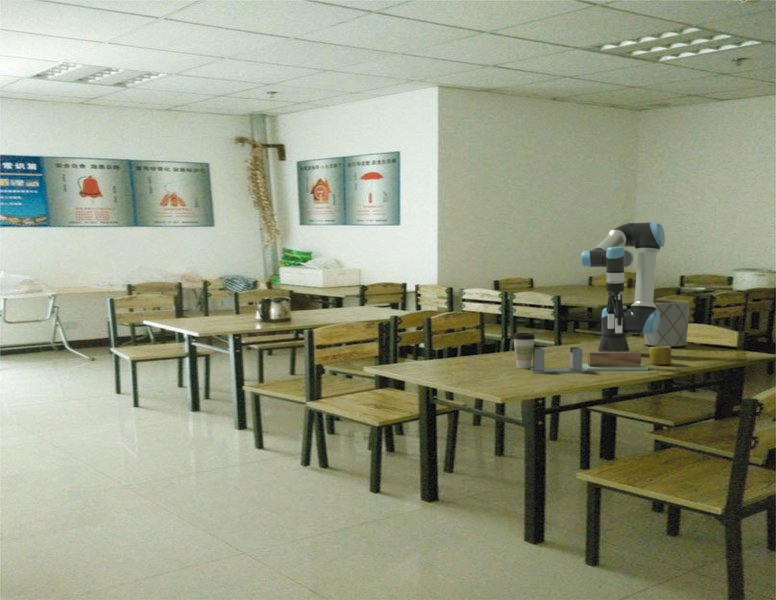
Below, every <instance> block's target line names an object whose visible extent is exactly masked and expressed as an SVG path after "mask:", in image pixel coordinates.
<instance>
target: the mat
mask: <svg viewBox="0 0 776 600" xmlns="http://www.w3.org/2000/svg"><path fill="white" fill-rule="evenodd" d="M582 369H583V370H586V371H588V372H589V371H591V372H592V371H593V372H594V371H595V372H596V371H597V372H598V371H599V372H600V371H601V372H602V371H603V372H605V371H606V372H607V371H608V372H609V371H611V372H612V371H615V372H616V371H622V372H623V371H625V372H627V371H629V372H630V371H631V372H633V371H639V372H640V371H649V368H648V367H647V366H645V365H643V364H642V363H641V367H589V366H588V363H582Z"/></svg>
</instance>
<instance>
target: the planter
mask: <svg viewBox="0 0 776 600" xmlns="http://www.w3.org/2000/svg"><path fill="white" fill-rule="evenodd" d="M653 304H654V305H655V306H656V310H657V311H659V313H660V320H659V325H658V328H657V330H656V332H655V333H654V334H645V335H644V334H643V335H644V336H643V337H644V343H645V346H650V347H660V346H668V347H671V348H672V347H683V346H685V348H686V346H687V340H688V329H689V317H690V315H689V314H690V301H689V300H683V299H653Z"/></svg>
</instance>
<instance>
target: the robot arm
mask: <svg viewBox="0 0 776 600" xmlns="http://www.w3.org/2000/svg"><path fill="white" fill-rule="evenodd" d="M665 235H666V234H665V230H664V227H663V225H662V224H661V223H659V222H652V221H651V222H650V221H649V222H627V223H623V224H621V225H619V226H617V227H614V228H613V229H612V230H610V231H609V232H608V233H607V235H606V237H605V238H604V239H603V240H602V241H601V242H600V243H598V245H596V246H595V247H593V248H592V250H583V251H582V253H581V255H580V262H581V265H582V267H584V268H585V267H586V268H605V269H606V272H605V273H606V274H605V275H604V277H605V278H606V283H605V284H606V285H605V288H606V289H605V291H606V292H607V294H608V295H607V296H608V297H607V302H606V303H607V305H606V307H605V308H603V309H602V310H601V338H600V341H599V344H598V347H597V352H631V351H630V347H629V343H628V340H627V334H634V335H638V334H639V335H645V334H654V333H655V332H656V330H657V328H658V325H659V320H660V313H659V311H657V310H656V306H655V305H654V304H653V300H654V294H655V283H656V282H655V281H656V267H657V266H656V265H657V254H658V253H660V252H661V248H663V247H664V246H665V243H666V236H665ZM626 247H629V248H631V247H633V248H634V252H636V253H637V259H636V261H637V263H636V277H635V289H634V302H633V303H632V304H631V305H630V309H628V307H627V306H626V305H623V295H622V294H620V293H621V292H624V291H625V283H624V282H625V268H627V267H629V266H631V265H632V264H633V263H634V260H635V259H634V254H633V253H632V252H631V251H630V250H626V249H625V248H626Z"/></svg>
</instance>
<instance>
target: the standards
mask: <svg viewBox="0 0 776 600" xmlns="http://www.w3.org/2000/svg"><path fill="white" fill-rule="evenodd" d="M582 364H583V348H580V347H579V346H573V347H572V346H571V347H569V367H545V349H544V348H543V346H542V347H541V346H540V347H535V346H534V347H533V357H532V367H531V368H529V370H530V371H531V373H532V374H578V373H579V374H585V373H586V371H585V369H584V368H583V367H582Z"/></svg>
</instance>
